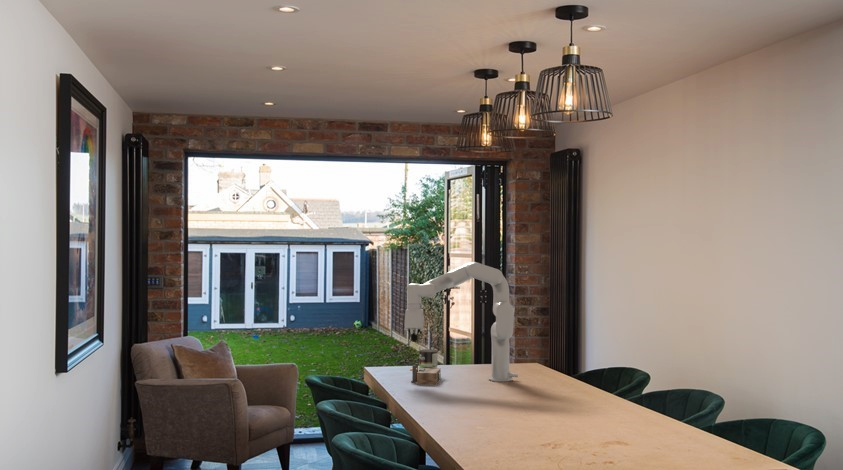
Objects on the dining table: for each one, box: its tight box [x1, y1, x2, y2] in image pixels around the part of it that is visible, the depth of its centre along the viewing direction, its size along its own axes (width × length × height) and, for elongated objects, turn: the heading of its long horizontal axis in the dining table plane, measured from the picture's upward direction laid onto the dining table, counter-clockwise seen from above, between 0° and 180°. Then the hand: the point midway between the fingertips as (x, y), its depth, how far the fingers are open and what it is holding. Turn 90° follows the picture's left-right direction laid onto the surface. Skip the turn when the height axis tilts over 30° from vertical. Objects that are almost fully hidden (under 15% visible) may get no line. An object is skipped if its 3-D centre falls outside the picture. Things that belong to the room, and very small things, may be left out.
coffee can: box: [418, 348, 438, 370], centre depth 437 cm, size 10×10×14 cm
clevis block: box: [410, 362, 442, 386], centre depth 418 cm, size 14×18×9 cm
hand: (414, 341), depth 419 cm, fingers closed
